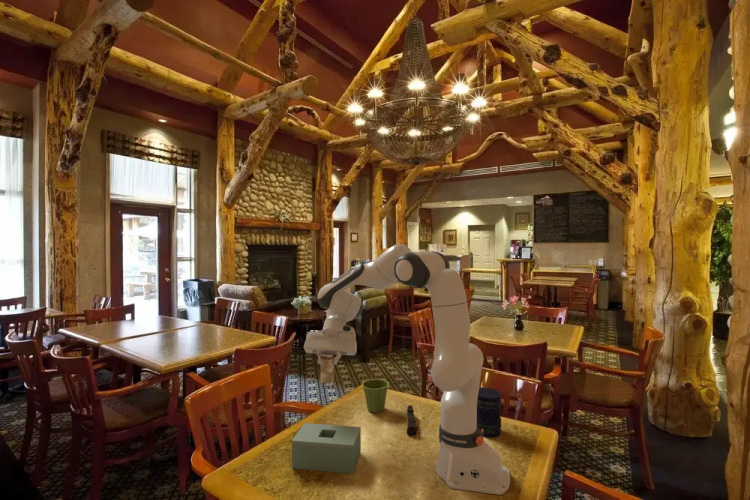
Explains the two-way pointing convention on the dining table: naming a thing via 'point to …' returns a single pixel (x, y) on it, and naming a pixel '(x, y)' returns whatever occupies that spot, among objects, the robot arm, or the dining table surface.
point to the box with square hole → (326, 448)
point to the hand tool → (411, 422)
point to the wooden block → (327, 368)
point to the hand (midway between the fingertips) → (326, 363)
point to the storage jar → (489, 412)
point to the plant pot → (375, 394)
